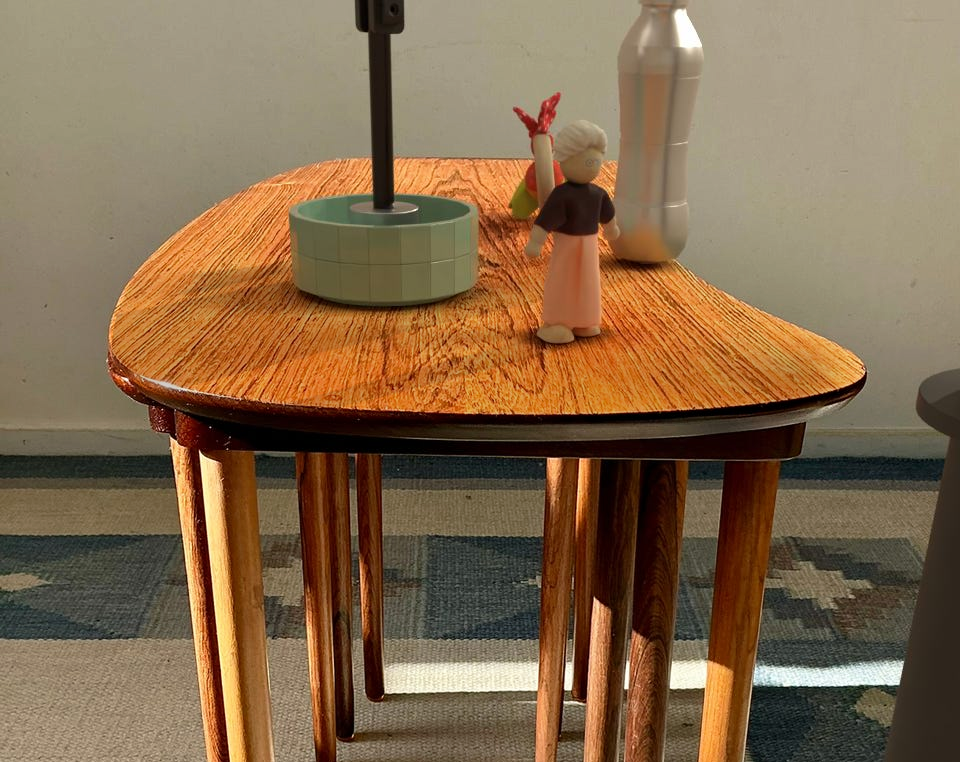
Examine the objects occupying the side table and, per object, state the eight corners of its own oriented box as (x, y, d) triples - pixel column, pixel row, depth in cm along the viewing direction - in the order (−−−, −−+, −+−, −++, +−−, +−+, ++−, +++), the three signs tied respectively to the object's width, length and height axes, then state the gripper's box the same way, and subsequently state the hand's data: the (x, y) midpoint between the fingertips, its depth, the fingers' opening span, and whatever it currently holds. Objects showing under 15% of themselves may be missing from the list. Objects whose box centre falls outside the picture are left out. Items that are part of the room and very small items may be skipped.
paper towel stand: (426, 240, 88) (423, -55, 79) (407, 253, 84) (401, -56, 75) (363, 236, 89) (353, -55, 80) (341, 249, 85) (328, -56, 76)
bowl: (496, 274, 93) (497, 198, 90) (449, 317, 81) (449, 231, 79) (331, 263, 95) (328, 189, 93) (265, 303, 84) (259, 220, 82)
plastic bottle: (676, 252, 100) (700, -25, 91) (694, 270, 94) (721, -23, 85) (598, 252, 100) (613, -25, 90) (611, 271, 94) (629, -24, 84)
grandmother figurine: (564, 351, 74) (574, 128, 68) (513, 341, 76) (518, 122, 70) (630, 326, 80) (644, 116, 74) (580, 316, 82) (591, 112, 76)
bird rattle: (582, 251, 110) (571, 193, 116) (595, 137, 101) (583, 80, 107) (513, 252, 110) (505, 194, 115) (520, 137, 101) (511, 80, 106)
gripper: (485, -306, 69) (482, 37, 77) (376, -273, 79) (383, 27, 87) (365, -321, 65) (375, 40, 74) (267, -284, 75) (286, 28, 84)
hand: (379, 31), depth 80 cm, fingers closed on paper towel stand, 1 cm apart
